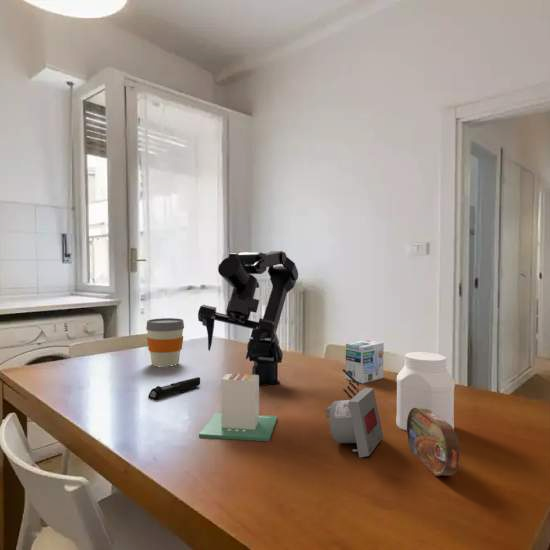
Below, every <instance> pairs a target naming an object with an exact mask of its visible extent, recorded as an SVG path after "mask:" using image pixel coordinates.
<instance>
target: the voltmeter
mask: <svg viewBox="0 0 550 550" xmlns="http://www.w3.org/2000/svg"><path fill="white" fill-rule="evenodd" d="M342 372H343V373H344V374H345V376H346V375H347V376H348V377H350V375H349V374H348V373H347V372H346V369H342ZM351 377H352V376H351ZM351 377H350V378H351ZM351 379H352V380H353V381H352V382H353V383H354V384H356V386H357V387H356V386H355V385H354V384H353V383H352V382H351V380H348V383H349V385H347V389H345V388H343V392H344V393H346V395H347V397H348V398H350V399H344V400H334V401H333V402H332V403H331V404H330V405H329V406H328V407H326V408H325V413H326V418H329V419H328V420H329V421H328V422H329V428H330V429H329V430H330V432H331V435H332V438H333V440H334V441H335V443H338V444H356V447H357V448H353V449H352V452H353V453H356V452H357V453H358V457H359V458H364V457H365V458H366V457H369V456H370V455H371V454H372V453H373V451H374V450H375V448H376V447H377V445H379V443H380V442H381V440H382V439H383V438H384V434H383V428H382V424H381V419H380V415H379V409H378V404H377V400H376V395H375V389H374V388H373V387H372V388H370V387H364V388H363V389H361V391H359V390H360V389H359V388H358V387H359V386H360V383H359V382H358V381H357V382H356V380H354V378H353V377H352V378H351ZM350 386H351V387H352V388H353V389H354V390H355V391H356V392H357V393H355V391H354V390H353V389H352V388H351V387H350ZM348 391H349V392H350V393H352V394H353V396H351V395H350V393H349V392H348Z"/></svg>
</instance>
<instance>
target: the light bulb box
mask: <svg viewBox="0 0 550 550" xmlns="http://www.w3.org/2000/svg"><path fill="white" fill-rule="evenodd" d="M384 346H385V345H384V342H379V341H373V340H369V339H365V340H360V341H359V340H358V341H354V342H349V343H348V342H347V343H345V371H346V372H347V373H348V374H349V375H350V377H351V376H352V377H353V378H354V380H356V382H357V381H358V382H359V384H366V383H369V382H373V381H376V380H380V379H384V356H385V355H384V354H385V353H384V349H385V348H384ZM350 377H348V376H347V375H346V374H345V380H348V381H350V382H351V381H352V382H354V381H353V380H352V379H351V378H352V377H351V378H350Z"/></svg>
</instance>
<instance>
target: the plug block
mask: <svg viewBox="0 0 550 550" xmlns="http://www.w3.org/2000/svg"><path fill="white" fill-rule="evenodd" d="M220 385H221V387H220V388H221V390H220V391H221V396H220V397H221V402H220V403H221V405H220V406H221V409H220V410H221V412H220V413H221V428H237V429H254V430H255V428H256V426H257V424H258V422H259V415H260V413H259V412H260V385H259V375H252V373H247V374H245V373H226V374H225V375H224V376H223V377H222V378H221V383H220Z"/></svg>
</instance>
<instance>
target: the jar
mask: <svg viewBox="0 0 550 550" xmlns="http://www.w3.org/2000/svg"><path fill="white" fill-rule="evenodd" d="M455 385H456V384H455V380H454V378H453V377H452V375H451V374H450V372H449V371H448V368H447V357H446V356H444V355H443V354H441V353H440V354H438V353H435V352H424V351H416V352H415V351H412V352H408V353H405V354H404V366H403V367H402V369H400V372H398V374H397V376H396V417H395V418H396V419H395V423H396V426H397V427H398V428H399V429H401V430H404V431H407V419H408V415H409V412H410V410H411V409H413V408H421V409H429V410H430V411H432V412H433V413H434V414H436V415H437V416H439V417H440V418H441V419H443V420H444V421H446V422H447V423H448V424H450V425H451V426H452V428H453V429H454V430H455V422H454V420H455V419H454V413H455V408H454V407H455Z"/></svg>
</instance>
